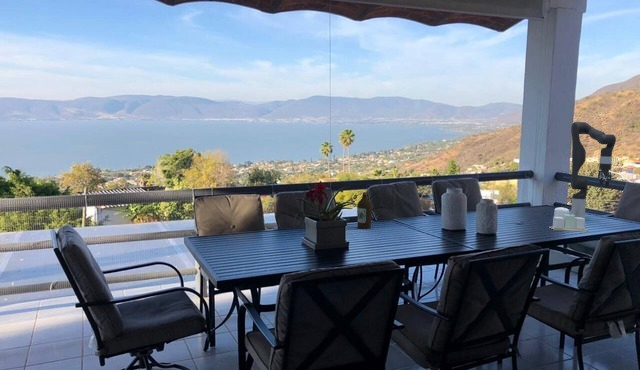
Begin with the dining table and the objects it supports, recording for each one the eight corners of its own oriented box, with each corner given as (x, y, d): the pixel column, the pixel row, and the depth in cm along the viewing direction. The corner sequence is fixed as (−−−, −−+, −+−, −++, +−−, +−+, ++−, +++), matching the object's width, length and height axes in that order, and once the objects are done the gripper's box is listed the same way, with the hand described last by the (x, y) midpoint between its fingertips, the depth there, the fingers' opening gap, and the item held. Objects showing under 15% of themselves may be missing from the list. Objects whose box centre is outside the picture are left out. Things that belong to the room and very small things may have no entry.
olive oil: (361, 225, 354) (362, 191, 351) (374, 227, 348) (375, 192, 345) (353, 228, 345) (354, 192, 342) (366, 230, 339) (367, 194, 336)
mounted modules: (552, 226, 348) (553, 216, 347) (580, 227, 347) (581, 217, 346) (556, 228, 342) (556, 218, 341) (584, 228, 341) (585, 218, 340)
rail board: (549, 227, 350) (549, 226, 350) (581, 228, 349) (581, 227, 349) (554, 230, 341) (554, 229, 340) (587, 231, 339) (588, 230, 339)
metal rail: (551, 227, 347) (551, 226, 347) (583, 228, 346) (583, 227, 346) (553, 228, 343) (553, 227, 343) (586, 229, 342) (586, 228, 342)
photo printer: (552, 223, 367) (553, 207, 365) (555, 222, 370) (556, 206, 368) (566, 225, 359) (568, 208, 357) (569, 224, 362) (570, 208, 360)
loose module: (562, 227, 347) (563, 214, 346) (571, 227, 346) (572, 214, 345) (565, 228, 343) (565, 215, 342) (574, 228, 342) (575, 215, 341)
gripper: (616, 163, 341) (614, 187, 343) (606, 162, 355) (604, 184, 357) (604, 163, 341) (603, 186, 343) (595, 162, 355) (593, 184, 357)
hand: (603, 185), depth 350 cm, fingers open, 8 cm apart
